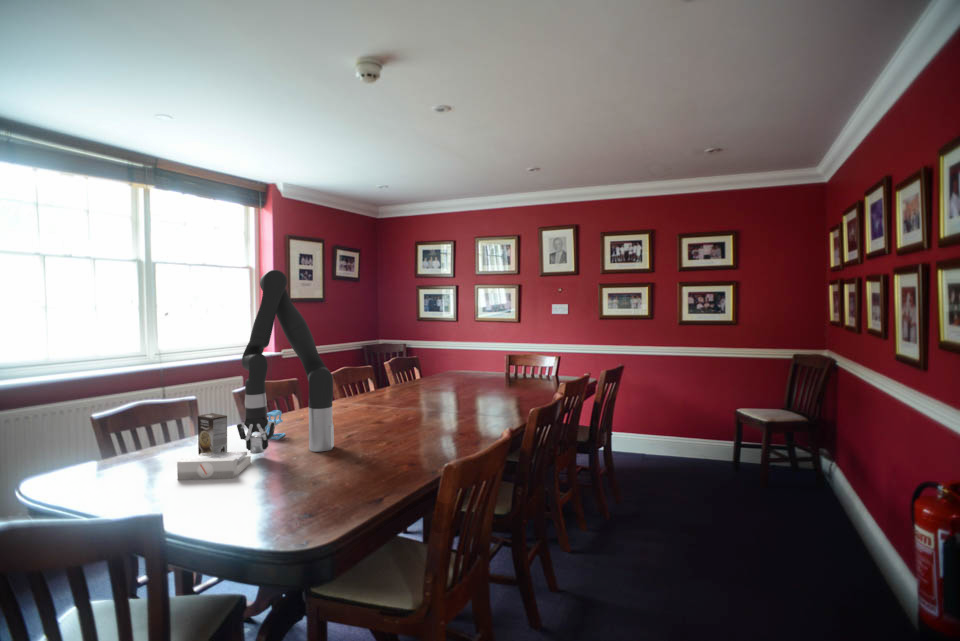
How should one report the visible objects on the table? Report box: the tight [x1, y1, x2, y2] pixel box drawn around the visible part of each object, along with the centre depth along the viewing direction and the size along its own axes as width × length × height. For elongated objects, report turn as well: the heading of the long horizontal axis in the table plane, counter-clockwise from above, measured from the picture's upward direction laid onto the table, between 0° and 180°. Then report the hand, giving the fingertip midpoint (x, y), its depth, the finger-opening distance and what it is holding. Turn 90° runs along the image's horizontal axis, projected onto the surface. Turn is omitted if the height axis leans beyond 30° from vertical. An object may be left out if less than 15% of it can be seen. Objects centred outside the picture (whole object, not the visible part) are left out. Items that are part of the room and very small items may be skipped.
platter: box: [192, 451, 248, 463], centre depth 177 cm, size 16×11×1 cm
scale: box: [176, 455, 252, 481], centre depth 175 cm, size 18×16×6 cm
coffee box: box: [197, 412, 228, 455], centre depth 191 cm, size 9×6×16 cm
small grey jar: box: [249, 433, 266, 455], centre depth 190 cm, size 5×5×6 cm
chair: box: [265, 409, 286, 441], centre depth 220 cm, size 8×8×12 cm
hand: (257, 449), depth 190 cm, fingers closed on small grey jar, 5 cm apart
